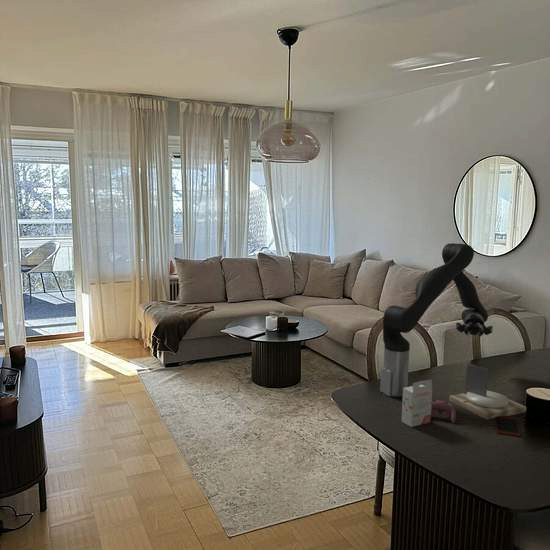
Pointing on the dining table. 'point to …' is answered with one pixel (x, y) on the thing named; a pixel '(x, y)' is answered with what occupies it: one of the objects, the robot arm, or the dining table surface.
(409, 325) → the robot arm
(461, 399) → the dial base
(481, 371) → the grey panel on disc
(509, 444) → the dining table surface
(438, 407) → the video game controller
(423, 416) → the ink cartridge box
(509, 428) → the smartphone
